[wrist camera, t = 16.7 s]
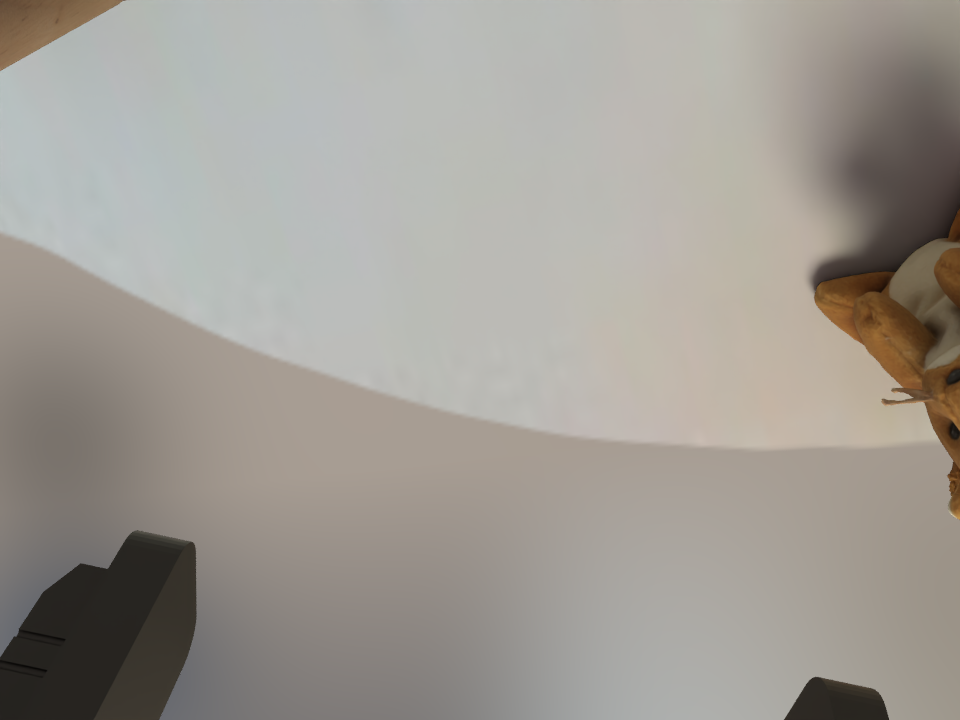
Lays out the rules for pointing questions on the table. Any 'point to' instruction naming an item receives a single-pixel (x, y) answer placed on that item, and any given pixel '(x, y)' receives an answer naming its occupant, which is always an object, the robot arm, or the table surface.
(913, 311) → the stuffed squirrel
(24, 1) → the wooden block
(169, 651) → the robot arm
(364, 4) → the table surface
